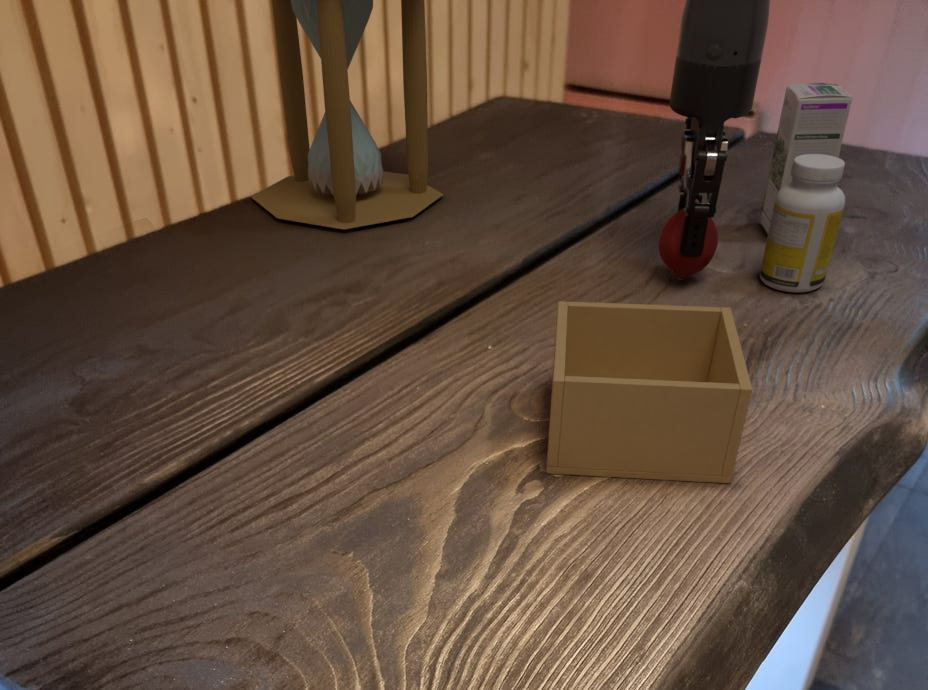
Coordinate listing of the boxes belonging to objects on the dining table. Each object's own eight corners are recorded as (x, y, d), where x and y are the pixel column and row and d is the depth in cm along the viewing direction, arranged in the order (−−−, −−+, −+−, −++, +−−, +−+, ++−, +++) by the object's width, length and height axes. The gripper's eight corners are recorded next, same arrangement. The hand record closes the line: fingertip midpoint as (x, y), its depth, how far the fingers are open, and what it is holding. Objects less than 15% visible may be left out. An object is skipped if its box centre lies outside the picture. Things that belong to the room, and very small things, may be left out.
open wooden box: (713, 395, 78) (730, 307, 73) (730, 483, 68) (752, 389, 63) (551, 387, 79) (558, 300, 74) (546, 473, 69) (552, 380, 64)
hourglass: (476, 197, 116) (478, -49, 99) (343, 246, 104) (320, -25, 87) (350, 160, 128) (333, -65, 111) (218, 200, 116) (176, -45, 99)
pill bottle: (822, 274, 97) (854, 153, 89) (823, 298, 93) (857, 173, 85) (758, 268, 98) (785, 148, 91) (756, 291, 94) (784, 168, 86)
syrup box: (820, 241, 104) (857, 95, 94) (767, 241, 104) (799, 95, 94) (806, 223, 108) (841, 82, 98) (756, 223, 108) (785, 82, 99)
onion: (671, 264, 99) (683, 184, 94) (720, 276, 97) (735, 196, 91) (644, 280, 96) (655, 199, 91) (693, 294, 93) (707, 211, 88)
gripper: (773, 70, 77) (733, 272, 89) (751, 36, 88) (718, 221, 99) (682, 69, 78) (653, 269, 89) (671, 35, 88) (647, 218, 100)
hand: (687, 243), depth 94 cm, fingers closed on onion, 6 cm apart
